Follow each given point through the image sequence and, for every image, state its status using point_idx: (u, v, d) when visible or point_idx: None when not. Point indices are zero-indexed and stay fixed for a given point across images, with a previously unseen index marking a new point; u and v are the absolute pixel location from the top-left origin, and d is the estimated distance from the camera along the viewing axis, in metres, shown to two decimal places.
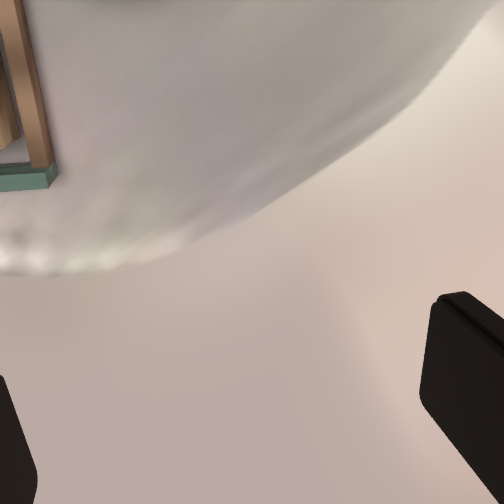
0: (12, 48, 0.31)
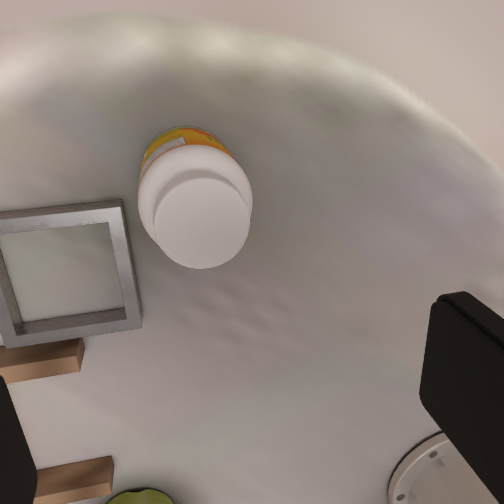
0: None
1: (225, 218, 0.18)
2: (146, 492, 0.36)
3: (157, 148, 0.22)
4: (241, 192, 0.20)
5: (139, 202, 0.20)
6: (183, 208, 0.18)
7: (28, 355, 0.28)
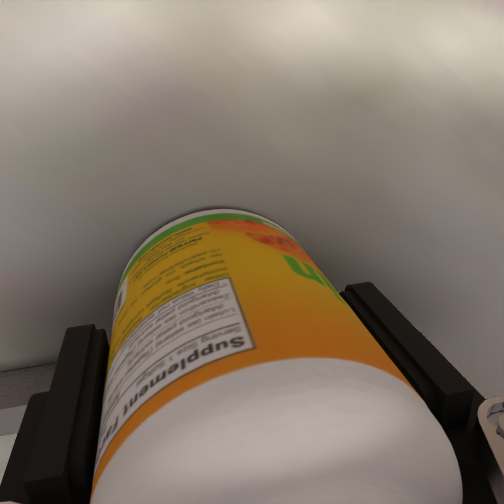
0: None
1: None
2: None
3: (154, 312, 0.08)
4: None
5: None
6: None
7: None
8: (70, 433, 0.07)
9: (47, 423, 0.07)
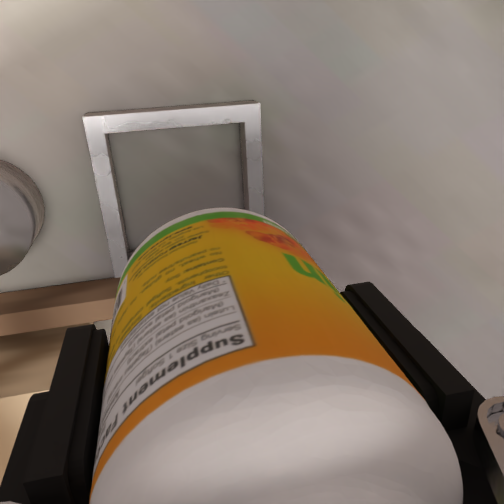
0: None
1: None
2: None
3: (154, 310, 0.08)
4: None
5: None
6: None
7: None
8: (70, 434, 0.07)
9: (47, 423, 0.07)
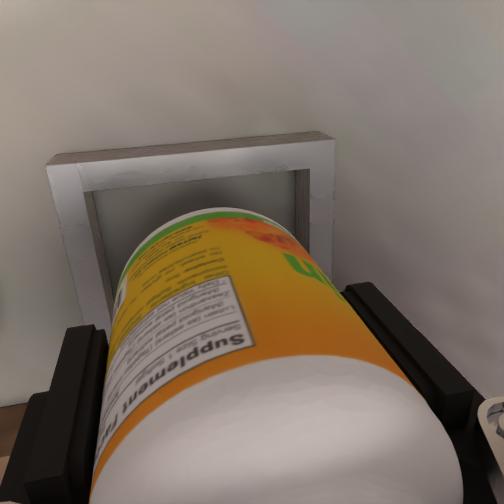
0: None
1: None
2: None
3: (154, 310, 0.08)
4: None
5: None
6: None
7: None
8: (70, 433, 0.07)
9: (47, 423, 0.07)
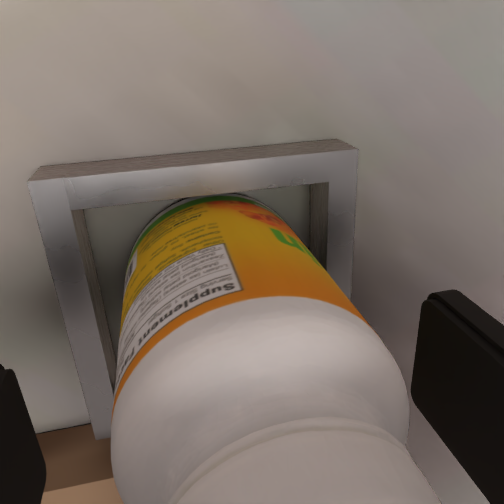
0: None
1: None
2: None
3: (161, 271, 0.09)
4: (395, 424, 0.07)
5: (114, 464, 0.07)
6: None
7: None
8: None
9: None
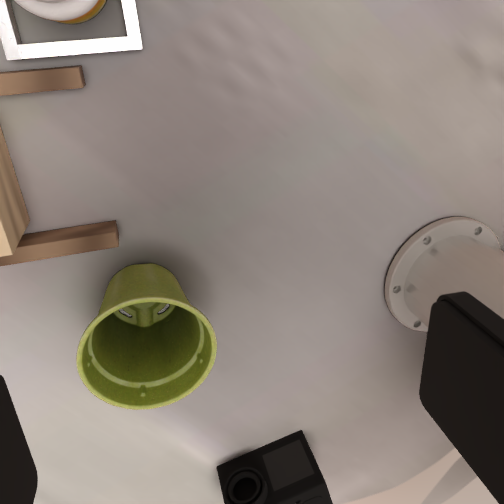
0: (3, 256, 0.31)
1: None
2: (151, 264, 0.37)
3: None
4: None
5: None
6: None
7: (30, 70, 0.28)
8: None
9: None
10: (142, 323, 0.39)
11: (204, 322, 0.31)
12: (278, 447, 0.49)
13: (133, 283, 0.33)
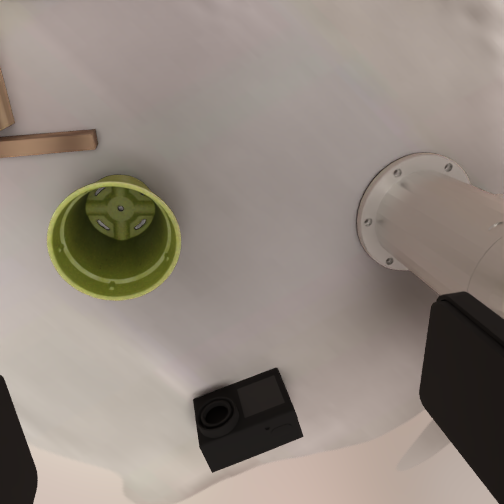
0: None
1: None
2: (128, 176, 0.39)
3: None
4: None
5: None
6: None
7: None
8: None
9: None
10: (119, 236, 0.41)
11: (168, 213, 0.33)
12: (253, 382, 0.50)
13: None
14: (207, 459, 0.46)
